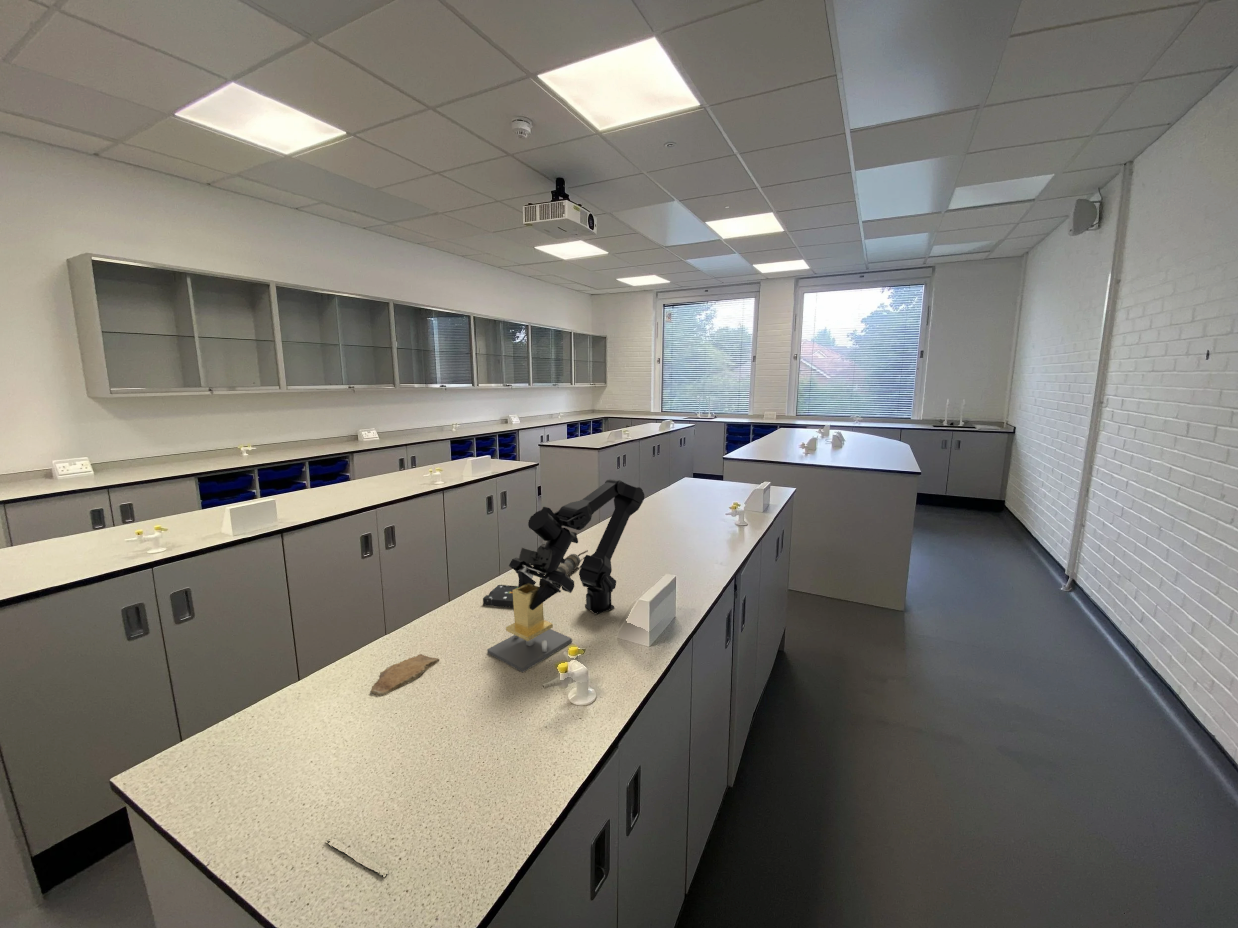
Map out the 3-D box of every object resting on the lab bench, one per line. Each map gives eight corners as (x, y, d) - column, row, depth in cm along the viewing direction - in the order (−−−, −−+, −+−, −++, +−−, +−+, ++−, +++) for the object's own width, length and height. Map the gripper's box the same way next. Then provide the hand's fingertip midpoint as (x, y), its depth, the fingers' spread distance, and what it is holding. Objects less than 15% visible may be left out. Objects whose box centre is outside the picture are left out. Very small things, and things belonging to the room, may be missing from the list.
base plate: (537, 626, 128) (536, 609, 128) (571, 641, 120) (571, 623, 120) (487, 652, 116) (486, 633, 115) (522, 672, 108) (521, 651, 107)
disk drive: (482, 607, 141) (529, 611, 138) (482, 598, 141) (528, 601, 138) (498, 592, 151) (542, 595, 148) (498, 584, 151) (542, 587, 148)
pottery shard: (445, 665, 112) (444, 658, 112) (378, 701, 100) (377, 693, 100) (426, 654, 117) (426, 648, 116) (361, 687, 105) (360, 680, 104)
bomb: (592, 556, 180) (592, 543, 179) (553, 593, 149) (552, 578, 148) (580, 554, 182) (580, 542, 181) (538, 591, 150) (538, 576, 149)
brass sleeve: (531, 617, 123) (529, 579, 121) (552, 627, 118) (550, 587, 116) (506, 630, 117) (503, 590, 115) (528, 641, 112) (525, 599, 110)
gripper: (512, 527, 122) (478, 582, 116) (564, 541, 111) (530, 603, 104) (537, 548, 130) (507, 600, 123) (588, 563, 118) (557, 622, 112)
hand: (523, 606), depth 115 cm, fingers closed on brass sleeve, 5 cm apart
